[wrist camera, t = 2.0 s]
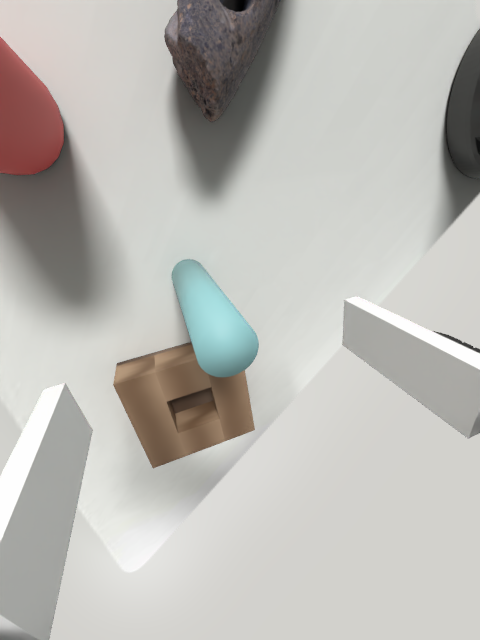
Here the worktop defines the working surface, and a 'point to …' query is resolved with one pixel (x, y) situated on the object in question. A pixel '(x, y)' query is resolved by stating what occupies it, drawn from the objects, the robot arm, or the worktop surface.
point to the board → (181, 403)
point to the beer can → (26, 118)
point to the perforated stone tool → (216, 46)
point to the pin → (213, 322)
